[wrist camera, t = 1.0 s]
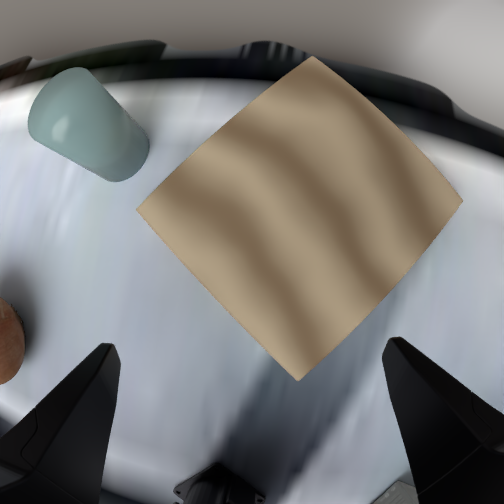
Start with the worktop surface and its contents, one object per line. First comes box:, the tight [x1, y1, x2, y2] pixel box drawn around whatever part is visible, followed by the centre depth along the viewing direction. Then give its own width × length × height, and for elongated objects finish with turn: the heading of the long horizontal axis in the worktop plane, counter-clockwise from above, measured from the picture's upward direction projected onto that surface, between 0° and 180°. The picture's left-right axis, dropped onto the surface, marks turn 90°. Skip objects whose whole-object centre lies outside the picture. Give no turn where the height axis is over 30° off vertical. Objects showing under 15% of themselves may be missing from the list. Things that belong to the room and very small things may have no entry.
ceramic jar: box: [28, 67, 149, 182], centre depth 20 cm, size 6×6×10 cm
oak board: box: [136, 56, 463, 381], centre depth 23 cm, size 20×18×2 cm
